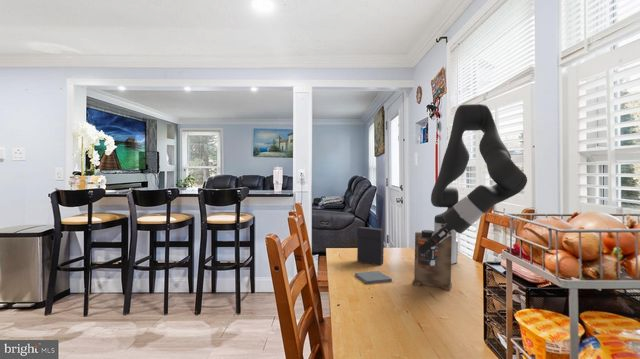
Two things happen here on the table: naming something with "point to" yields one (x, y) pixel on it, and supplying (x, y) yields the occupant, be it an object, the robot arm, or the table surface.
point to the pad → (373, 277)
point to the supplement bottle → (427, 252)
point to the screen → (441, 272)
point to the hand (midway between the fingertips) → (422, 249)
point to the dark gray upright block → (370, 245)
